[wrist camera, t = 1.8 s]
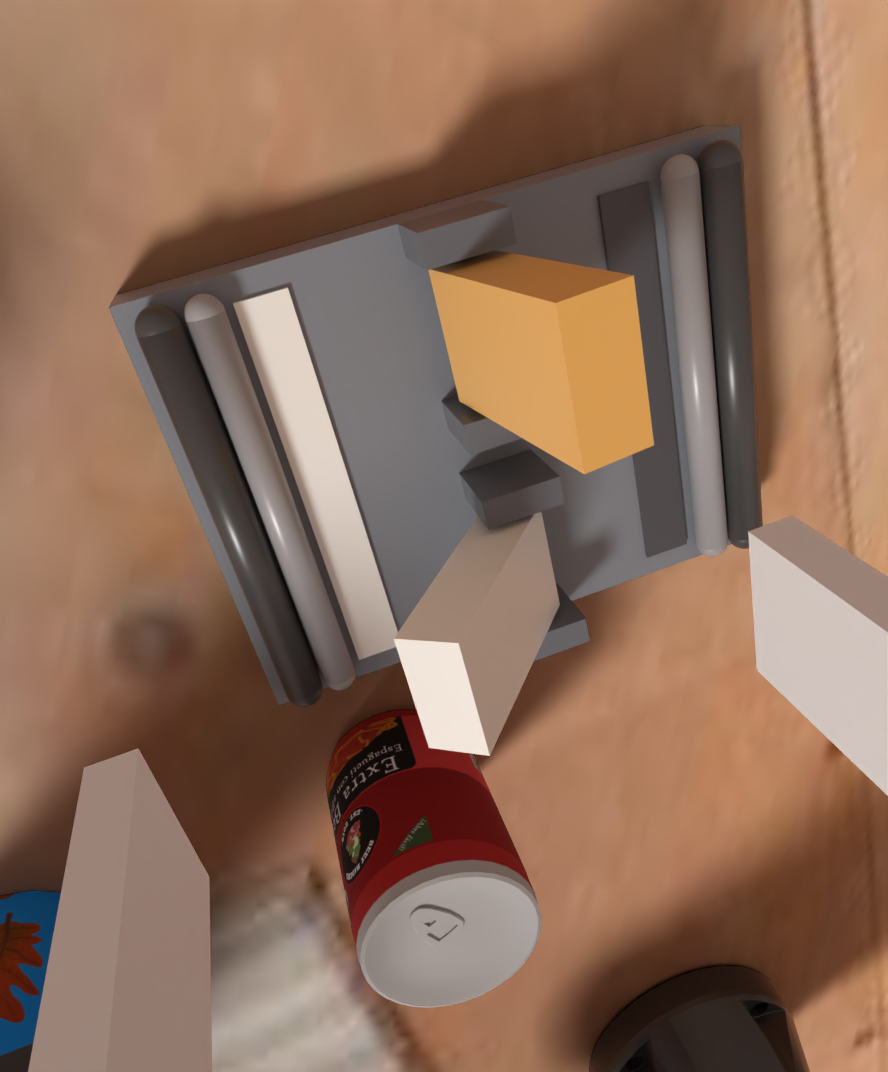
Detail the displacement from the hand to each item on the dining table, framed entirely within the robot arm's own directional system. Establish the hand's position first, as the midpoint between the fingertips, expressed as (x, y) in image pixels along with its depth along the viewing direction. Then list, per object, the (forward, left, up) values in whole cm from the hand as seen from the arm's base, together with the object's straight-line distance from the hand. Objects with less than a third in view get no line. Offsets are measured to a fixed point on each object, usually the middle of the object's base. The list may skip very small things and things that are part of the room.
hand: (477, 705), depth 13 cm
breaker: (-10, -6, -20) cm, 23 cm away
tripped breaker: (0, -6, -20) cm, 21 cm away
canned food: (-22, +2, -24) cm, 33 cm away
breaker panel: (-5, -6, -24) cm, 25 cm away
